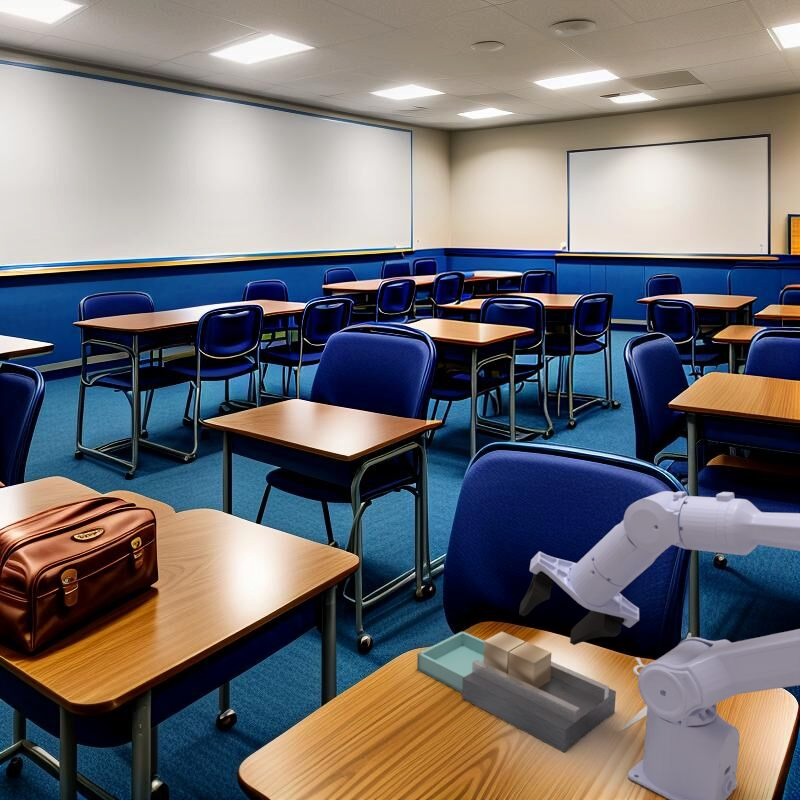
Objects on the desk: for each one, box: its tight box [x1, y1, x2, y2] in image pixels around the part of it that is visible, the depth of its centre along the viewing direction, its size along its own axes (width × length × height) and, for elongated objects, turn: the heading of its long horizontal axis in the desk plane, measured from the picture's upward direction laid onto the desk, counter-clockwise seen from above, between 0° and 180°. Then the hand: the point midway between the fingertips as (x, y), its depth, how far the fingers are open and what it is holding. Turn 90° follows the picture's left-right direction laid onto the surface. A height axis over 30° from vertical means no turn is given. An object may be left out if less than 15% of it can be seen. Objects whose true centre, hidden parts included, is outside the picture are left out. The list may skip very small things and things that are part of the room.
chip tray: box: [416, 631, 485, 694], centre depth 107 cm, size 9×10×2 cm
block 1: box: [483, 631, 526, 674], centre depth 102 cm, size 4×4×4 cm
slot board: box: [461, 660, 617, 753], centre depth 98 cm, size 16×12×4 cm
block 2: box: [508, 641, 552, 688], centre depth 99 cm, size 4×4×4 cm
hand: (547, 623), depth 96 cm, fingers open, 7 cm apart
